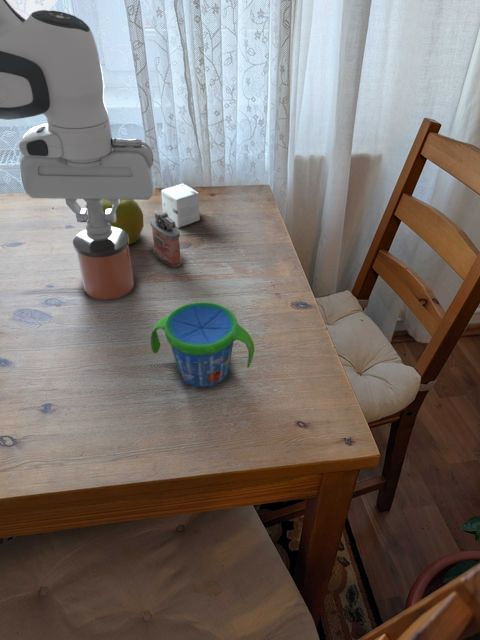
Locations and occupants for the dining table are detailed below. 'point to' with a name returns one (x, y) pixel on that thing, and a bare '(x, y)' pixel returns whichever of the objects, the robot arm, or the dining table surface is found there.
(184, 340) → the snack cup
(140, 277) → the dining table surface
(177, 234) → the lighter
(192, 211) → the white cardboard box
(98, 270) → the canister
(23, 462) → the dining table surface
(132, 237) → the apple
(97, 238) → the rook chess piece
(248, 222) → the dining table surface
